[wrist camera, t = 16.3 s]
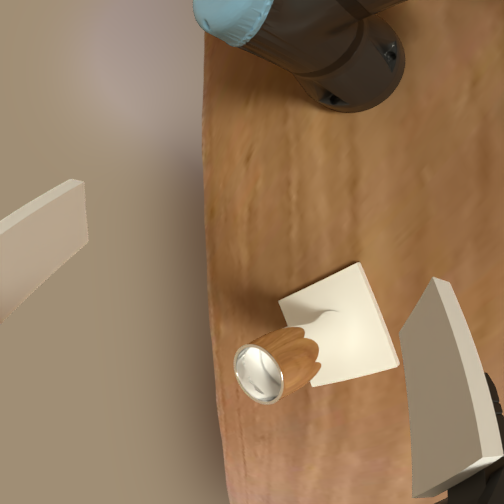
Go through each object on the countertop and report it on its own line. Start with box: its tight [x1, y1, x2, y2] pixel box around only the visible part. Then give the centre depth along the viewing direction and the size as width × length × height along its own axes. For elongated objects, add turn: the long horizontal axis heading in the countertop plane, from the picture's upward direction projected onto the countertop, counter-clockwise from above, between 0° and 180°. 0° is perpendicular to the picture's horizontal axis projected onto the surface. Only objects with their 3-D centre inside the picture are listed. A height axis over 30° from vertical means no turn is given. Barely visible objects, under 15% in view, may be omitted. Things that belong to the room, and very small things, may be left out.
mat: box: [278, 262, 400, 387], centre depth 40 cm, size 14×14×1 cm
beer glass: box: [234, 311, 353, 405], centre depth 34 cm, size 7×7×15 cm
